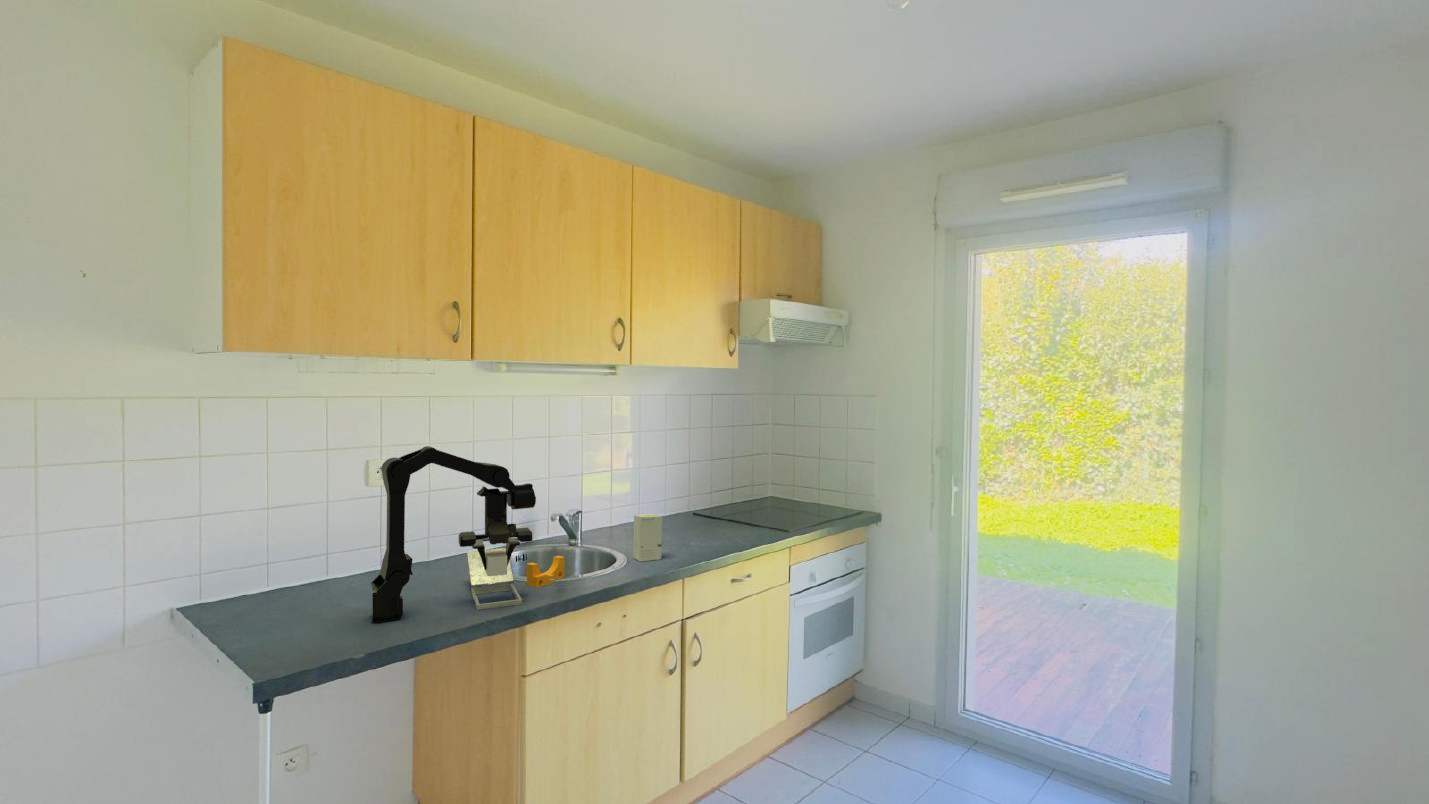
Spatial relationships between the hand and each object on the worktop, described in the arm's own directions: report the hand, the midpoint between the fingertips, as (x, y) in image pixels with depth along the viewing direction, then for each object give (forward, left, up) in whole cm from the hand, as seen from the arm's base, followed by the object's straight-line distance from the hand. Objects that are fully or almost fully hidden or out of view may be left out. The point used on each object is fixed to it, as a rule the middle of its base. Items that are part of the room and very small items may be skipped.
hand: (495, 568), depth 192 cm
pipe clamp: (+16, +11, -9) cm, 22 cm away
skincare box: (+52, +25, -9) cm, 58 cm away
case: (0, +6, -8) cm, 11 cm away
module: (0, 0, -1) cm, 1 cm away
